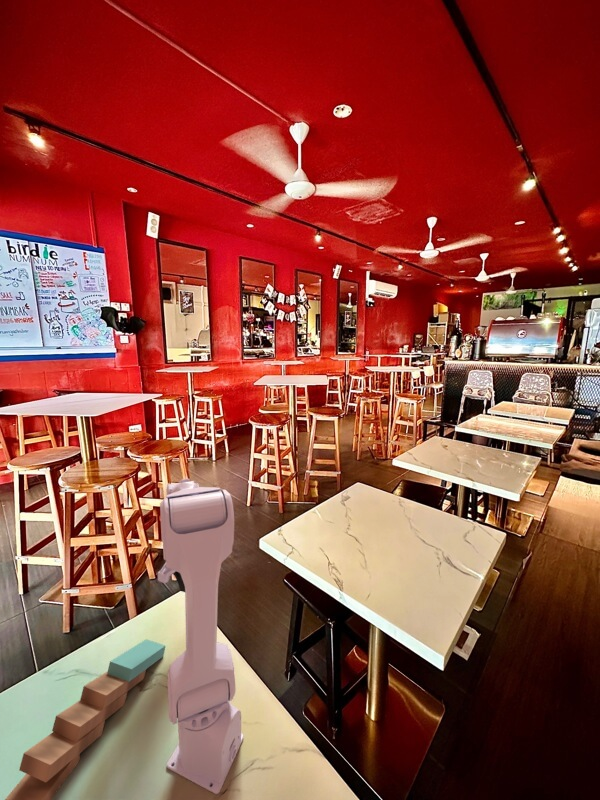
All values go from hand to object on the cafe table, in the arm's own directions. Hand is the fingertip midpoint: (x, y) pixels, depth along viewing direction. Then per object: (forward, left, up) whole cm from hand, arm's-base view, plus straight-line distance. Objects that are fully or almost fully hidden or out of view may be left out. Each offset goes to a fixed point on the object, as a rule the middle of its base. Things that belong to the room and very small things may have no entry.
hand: (186, 590), depth 75 cm
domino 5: (+3, +26, -10) cm, 28 cm away
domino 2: (+3, +12, -10) cm, 16 cm away
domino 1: (+3, +7, -10) cm, 12 cm away
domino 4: (+3, +22, -10) cm, 24 cm away
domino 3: (+3, +17, -10) cm, 20 cm away
